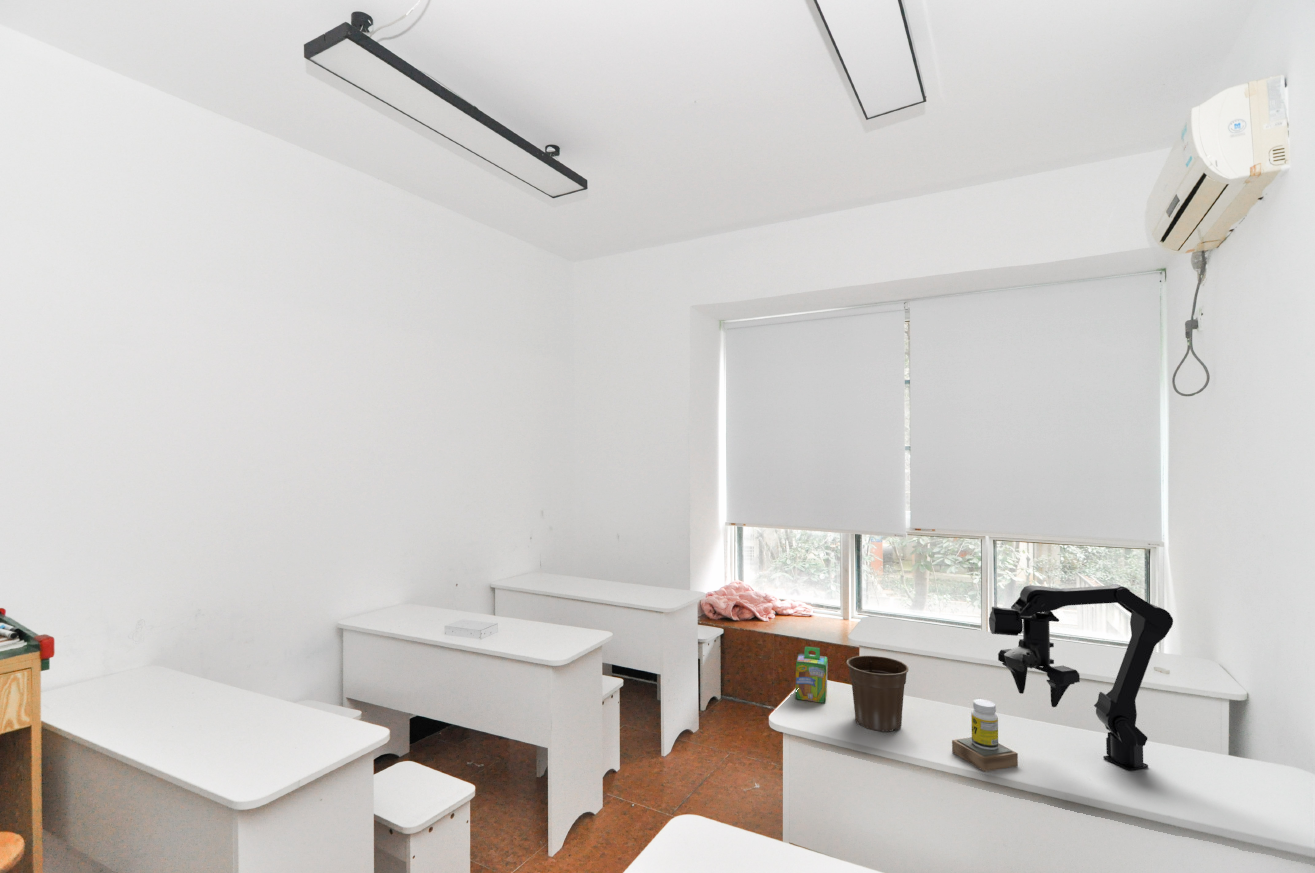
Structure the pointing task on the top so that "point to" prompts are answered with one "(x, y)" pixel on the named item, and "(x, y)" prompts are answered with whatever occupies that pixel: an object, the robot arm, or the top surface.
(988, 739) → the supplement bottle
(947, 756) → the top surface
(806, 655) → the chalk box
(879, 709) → the plant pot
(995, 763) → the plinth
